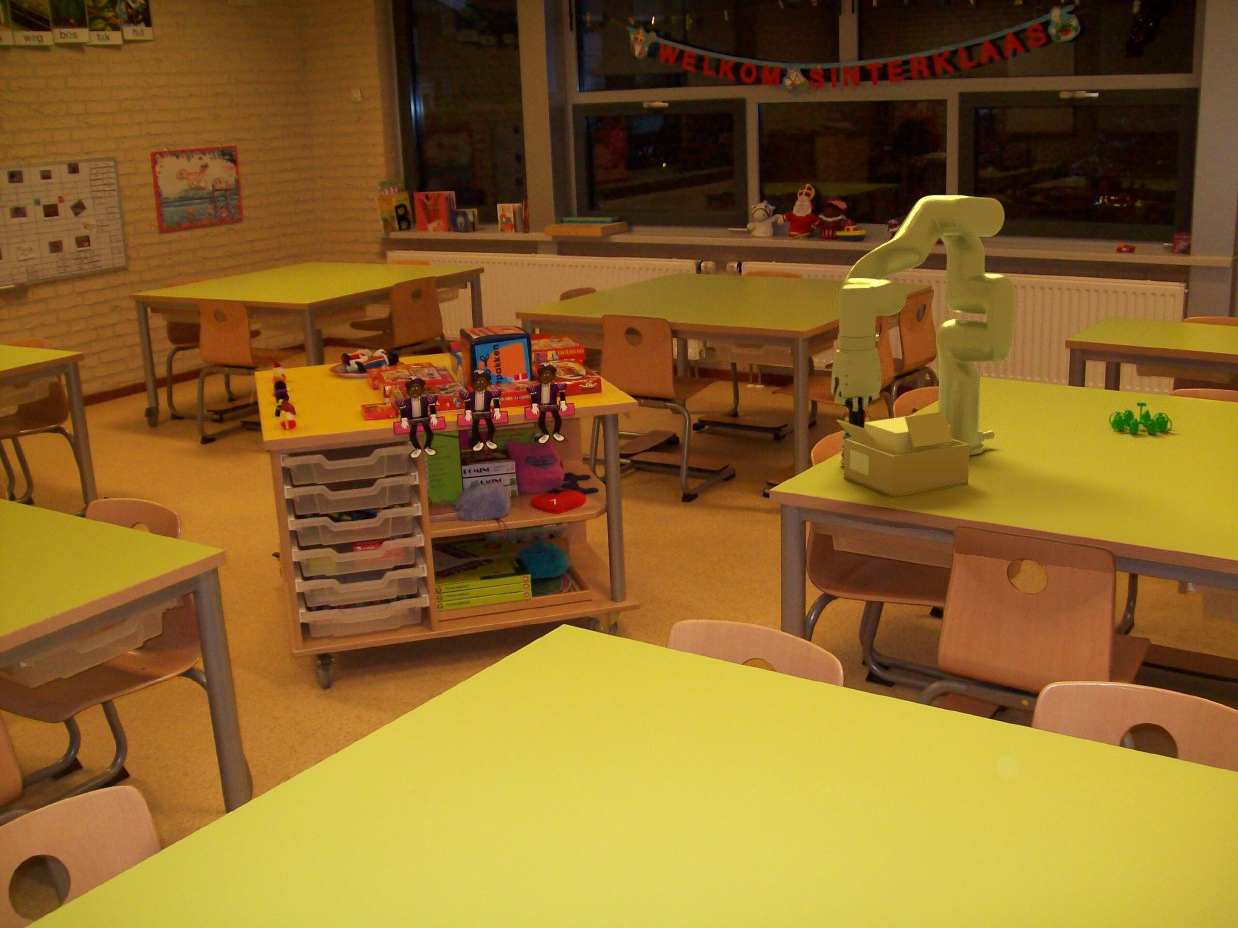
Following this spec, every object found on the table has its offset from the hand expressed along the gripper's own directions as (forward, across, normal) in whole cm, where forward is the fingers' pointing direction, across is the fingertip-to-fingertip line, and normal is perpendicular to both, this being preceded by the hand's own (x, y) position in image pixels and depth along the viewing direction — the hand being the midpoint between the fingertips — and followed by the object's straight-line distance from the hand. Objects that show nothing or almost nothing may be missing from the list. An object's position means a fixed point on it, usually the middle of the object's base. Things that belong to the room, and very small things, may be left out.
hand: (856, 427), depth 262 cm
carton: (+14, -13, 0) cm, 19 cm away
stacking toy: (+14, -11, -16) cm, 24 cm away
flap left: (+1, -14, +6) cm, 15 cm away
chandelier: (+16, -91, -9) cm, 93 cm away
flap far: (+1, -1, 0) cm, 2 cm away
